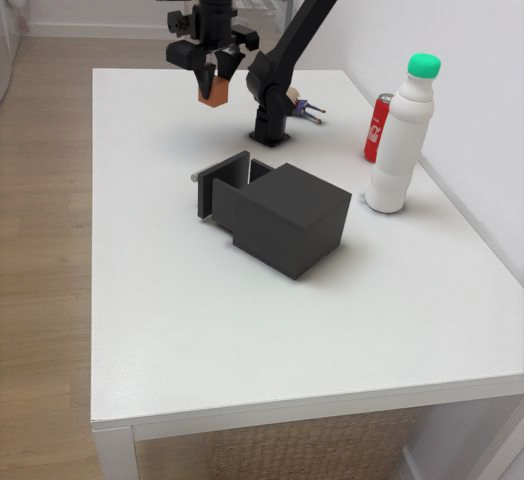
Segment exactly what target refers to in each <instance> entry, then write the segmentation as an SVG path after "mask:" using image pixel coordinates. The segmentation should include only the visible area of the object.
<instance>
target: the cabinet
mask: <svg viewBox="0 0 524 480" xmlns="http://www.w3.org/2000/svg"><path fill="white" fill-rule="evenodd" d="M352 197H353V193H351V192H350V191H347V190H346V189H343V188H341V187H339V186H337V185H335V184H333V183H331V182H328V181H327V180H325V179H322V178H320V177H318V176H316V175H314V174H312V173H310V172H308V171H306V170H304V169H302V168H299V167H297V166H295V165H294V164H291V163H289V162H285V163H283V164H281V165H279V166H277V167H276V168H275V169H274V170H272V171H270V172H269V173H267V174H265V175H263V176H262V177H260V178H258V179H256V180H254V181H253V182H251V183H249V182H248V184H247V185H245V186H244V187H242V188H240V189H238V190H237V191H236V192H235V209H234V225H233V231H232V245H234V247H237V248H238V249H240V250H242V251H244V252H245V253H246V254H249V255H251V256H252V257H254V258H256V260H257V259H258V261H261V262H262V263H264V264H266V265H267V266H269V267H271V268H273V269H274V270H276V271H278V272H280V273H281V274H283V275H285V276H287V278H290V279H292V280H293V281H296V280H298V279H299V278H300V277H301V276H302V275H305V273H306V272H308V271H309V270H310V269H311V268H313V267H314V266H315V265H317V264H318V263H319V262H320V261H321V260H323V259H325V257H327V256H328V255H330V254H331V253H332V252H333V251H334V250H336V249H337V248H338V247H340V246H341V242H342V238H343V233H344V229H345V225H346V222H347V216H348V213H349V207H350V205H351V201H352Z"/></svg>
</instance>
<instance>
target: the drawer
mask: <svg viewBox="0 0 524 480" xmlns="http://www.w3.org/2000/svg"><path fill="white" fill-rule="evenodd" d="M274 169H276V168H275V167H273V166H271V165H269V164H267V163H265V162H263V161H261V160H259V159H257V158H254V157H253V158H251V152H250V151H249V150H246V149H244V150H242V151H240V152H238V153H236V154H234V155H232V156H230V157H228V158H225V159H224V160H222V161H220V162H218V161H216V162H213V163H211V164H210V165H208V166H206V167H204V168H201V169H200V170H198V171H196V172H194V173H191V174H190V180H191V181H192V182H193V183H197V217H198V218H200V219H201V220H205V219H207V218H208V217H210V216H211V220H212V221H214V222H215V223H217V224H218V225H221V226H222V227H224V228H226V229H227V230H229V231H230V232H233V225H234V209H235V192H236V191H237V190H238V189H240V188H242V187H244V186H245V185H247V184H249V183H251V182H253V181H254V180H256V179H258V178H260V177H262V176H263V175H265V174H267V173H269V172H270V171H272V170H274Z"/></svg>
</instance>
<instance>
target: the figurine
mask: <svg viewBox="0 0 524 480" xmlns="http://www.w3.org/2000/svg"><path fill="white" fill-rule="evenodd" d="M286 94H287V96H288V97H289V98H290V99H291V100H292V102H293V103H294V104H295V105H296V107H295V109H294V111H293V114H294V113H295V112H296V114H297V115H299V117H302V116H306V117H308V118H311V119H313V120H315V121H316V122H318V124H322V119H320V118H318V117H316V116H314V115H313V114H311V113H309V112H307V111H306V109H307V108H308V109H311V110H314V111H316V112H317V111H318V112H320V113H322V114H326V112H327V110H325V109H321V108H319V107H317V106H314V105H312V104H311V103H309V102H308V99H299V98H301V95H300V92H299V91H298V89H296V88H295V87H293V86H290V87H289V89H288V91H287V93H286Z"/></svg>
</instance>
